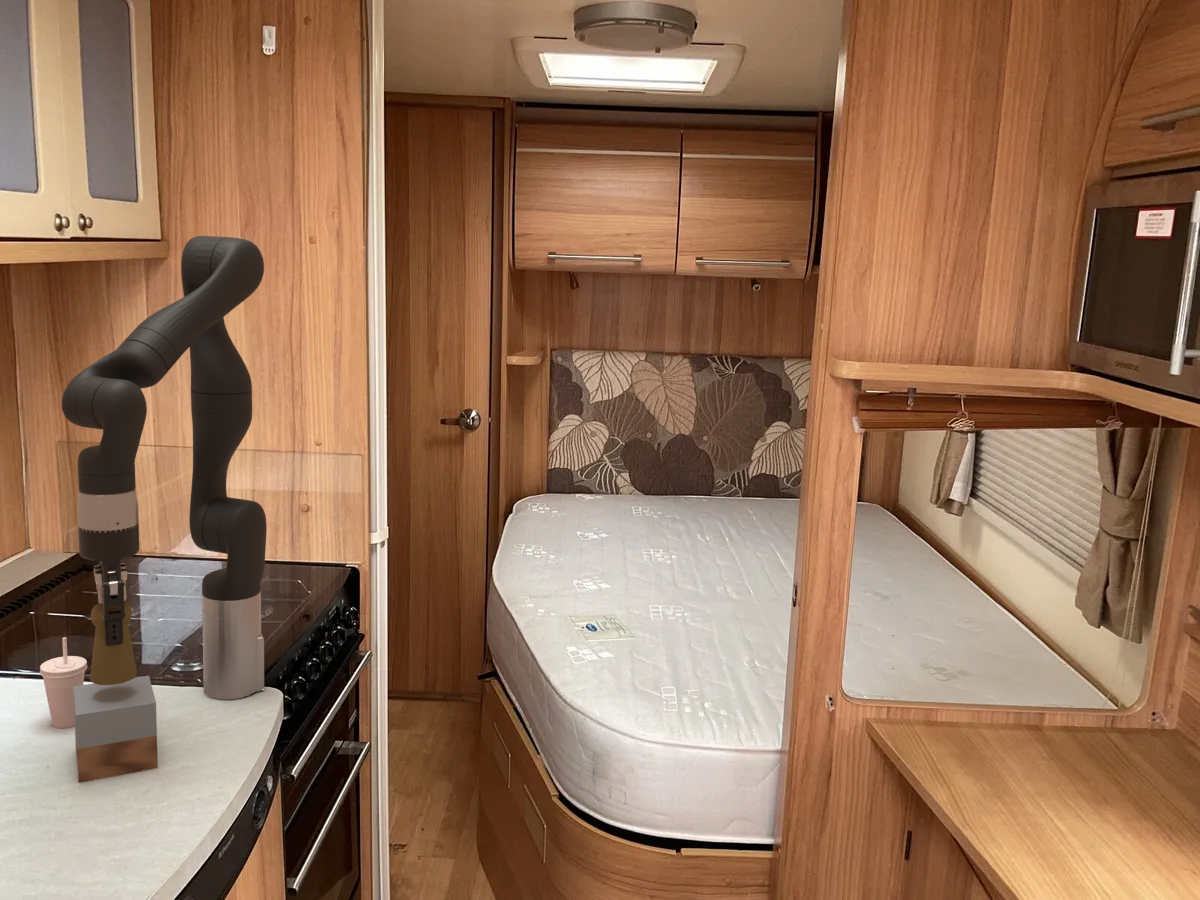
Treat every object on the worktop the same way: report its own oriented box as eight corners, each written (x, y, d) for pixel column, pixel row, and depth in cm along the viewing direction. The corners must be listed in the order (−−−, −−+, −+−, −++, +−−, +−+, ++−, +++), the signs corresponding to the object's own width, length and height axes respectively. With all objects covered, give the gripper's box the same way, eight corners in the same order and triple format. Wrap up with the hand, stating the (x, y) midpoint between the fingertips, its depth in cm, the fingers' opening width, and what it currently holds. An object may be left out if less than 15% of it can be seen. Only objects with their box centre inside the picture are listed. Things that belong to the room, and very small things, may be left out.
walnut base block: (150, 737, 147) (149, 706, 146) (157, 768, 139) (156, 735, 138) (75, 750, 142) (74, 718, 141) (78, 782, 134) (77, 749, 133)
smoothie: (57, 736, 146) (52, 648, 143) (33, 724, 149) (29, 637, 147) (98, 721, 151) (94, 636, 149) (74, 709, 155) (71, 626, 152)
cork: (146, 673, 140) (144, 600, 138) (110, 688, 134) (107, 613, 132) (117, 664, 142) (114, 592, 140) (79, 678, 137) (76, 604, 135)
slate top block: (149, 706, 146) (148, 675, 146) (156, 735, 138) (156, 702, 137) (74, 718, 141) (73, 686, 141) (77, 749, 133) (75, 715, 132)
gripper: (143, 532, 130) (146, 651, 133) (134, 507, 142) (137, 617, 145) (80, 537, 126) (85, 660, 129) (75, 510, 138) (80, 623, 142)
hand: (112, 636), depth 137 cm, fingers closed on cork, 5 cm apart
